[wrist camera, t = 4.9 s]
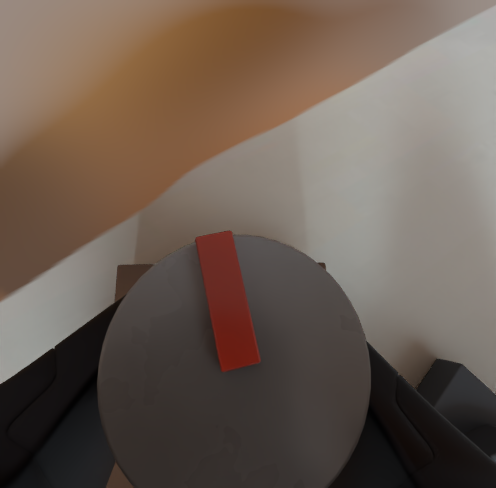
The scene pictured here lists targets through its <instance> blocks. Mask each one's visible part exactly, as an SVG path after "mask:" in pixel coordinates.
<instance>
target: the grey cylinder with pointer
mask: <svg viewBox="0 0 496 488" xmlns="http://www.w3.org/2000/svg"><path fill="white" fill-rule="evenodd" d="M370 390H371V368H370V359H369V351H368V347H367V343H366V338H365V334H364V331H363V329H362V326H361V323H360V320H359V318H358V316H357V314H356V312H355V310H354V308H353V306H352V304H351V302H350V300H349V299H348V297H347V296H346V294H345V293H344V291H343V290H342V288H341V287H340V286H339V284H338V283H337V282H336V281H335V280H334V279H333V277H332V276H331V275H330V274H329V273H328V272H327V271H326V270H325V269H324V268H323V267H321V266H320V265H319V264H318V263H317V262H315V261H314V260H313V259H311V258H310V257H308V256H307V255H306V254H304V253H302V252H300V251H299V250H297V249H295V248H293V247H291V246H289V245H286V244H284V243H281V242H279V241H276V240H272V239H268V238H264V237H259V236H251V235H233V234H232V231H224V232H219V233H214V234H209V235H203V236H198V237H196V238H195V242H194V243H191V244H189V245H186V246H184V247H182V248H180V249H178V250H176V251H174V252H173V253H171V254H169V255H167V256H166V257H164V258H163V259H162V260H160V261H159V262H157V263H156V264H155V265H153V266H152V267H151V268H150V269H149V270H148V271H147V272H146V273H145V274H144V275H143V276H141V277H140V278H139V280H138V281H137V282H136V283H135V284H134V286H133V287H132V288H131V289H130V290H129V292H128V293H127V294H126V296H125V297H124V299H123V301H122V302H121V304H120V305H119V307H118V308H117V310H116V312H115V315H114V317H113V319H112V321H111V323H110V325H109V327H108V330H107V333H106V336H105V339H104V342H103V346H102V350H101V355H100V360H99V366H98V378H97V394H98V408H99V413H100V419H101V425H102V428H103V431H104V434H105V437H106V441H107V444H108V446H109V448H110V450H111V452H112V455H113V457H114V459H115V461H116V463H117V465H118V466H119V468H120V469H121V471H122V472H123V474H124V475H125V477H126V478H127V480H128V481H129V482H130V483H131V484H132V485H133V487H134V488H328V487H329V486H330V485H331V484H332V483H333V482H334V480H335V479H336V478H337V477H338V476H339V474H340V473H341V471H342V470H343V468H344V467H345V465H346V464H347V462H348V461H349V459H350V457H351V455H352V453H353V451H354V449H355V447H356V445H357V443H358V441H359V438H360V435H361V433H362V430H363V427H364V424H365V420H366V415H367V411H368V407H369V399H370Z"/></svg>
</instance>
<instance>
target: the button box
mask: <svg viewBox="0 0 496 488" xmlns="http://www.w3.org/2000/svg"><path fill="white" fill-rule="evenodd" d="M416 391H417V392H418V393H419V394H420V395H421V396H422V397H423V398H424V399H425V400H426V401H427V402H428V403H429V404H430V405H432V406H433V407H434V408H435V409H436V410H437V411H438V412H439V413H440V414H441V415H443V416H444V417H445V418H446V419H447V420H448V421H449V422H450V423H451V424H453V425H454V426H455V427H456V428H457V429H458V430H459V431H460V432H462V433H463V434H464V435H465V436H466V437H467V438H468V439H470V440H471V441H472V442H473V443H474V444H475V445H476V446H478V447H479V448H480V449H481V450H482V451H483V452H484V453H485V454H487V455H488V456H489V457H490V458H491V459H492V460H493V461H495V462H496V395H495V394H494V393H493V392H492V391H491V390H490V389H489V388H487V387H486V386H485V385H484V384H483V383H482V382H481V381H480V380H479V379H478V378H477V377H476V376H474V375H473V374H472V373H471V372H470V371H469V370H468V369H467V368H466V367H465V366H464V365H462V364H460V363H456V362H451V361H447V360H442V359H437V360H436V361H435V363H434V364H433V366H432V367H431V369H430V370H429V372H428V373H427V375H426V376H425V378H424V379H423V381H422V382H421V384H420V385H419V387H418V388H417V390H416Z"/></svg>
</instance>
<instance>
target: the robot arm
mask: <svg viewBox="0 0 496 488" xmlns="http://www.w3.org/2000/svg"><path fill="white" fill-rule="evenodd" d="M125 296H126V295H124V296H123V297H122V298H120V299H119V300H117V301H116V302H115V303H113V304H112V305H111V306H109V307H108V308H107V309H105V310H104V311H102V312H101V313H100V314H98V315H97V316H96V317H94V318H93V319H91V320H90V321H89V322H87V323H86V324H85V325H83V326H82V327H81V328H79V329H78V330H76V331H75V332H74V333H72V334H71V335H70V336H68V337H67V338H66V339H64V340H63V341H61V342H60V343H59V344H57V345H56V346H55V349H53V348H52V349H50V350H49V351H48V352H46V353H45V354H44V355H42V356H41V357H39V358H38V359H37V360H35V361H34V362H32V363H31V364H30V365H28V366H27V367H25V368H24V369H22V370H21V371H20V372H18V373H17V374H15V375H14V376H12V377H11V378H9V379H8V380H6V381H5V382H3V383H2V384H0V488H106V486H107V483H108V481H109V478H110V475H111V472H112V470H113V467H114V464H115V462H116V461H115V459H114V457H113V455H112V452H111V450H110V448H109V446H108V444H107V441H106V437H105V434H104V431H103V428H102V425H101V419H100V413H99V408H98V394H97V378H98V366H99V360H100V355H101V350H102V346H103V342H104V339H105V336H106V333H107V330H108V327H109V325H110V323H111V321H112V319H113V317H114V315H115V312H116V310H117V308H118V307H119V305H120V304H121V302H122V301H123V299H124V297H125ZM366 343H367V347H368V351H369V359H370V368H371V390H370V399H369V407H368V411H367V415H366V420H365V424H364V427H363V430H362V433H361V435H360V438H359V441H358V443H357V445H356V447H355V449H354V451H353V453H352V455H351V457H350V459H349V461H348V462H347V464H346V465H345V467H344V468H343V470H342V471H341V473H340V474H339V476H338V477H337V478H336V479H335V480H334V482H333V483H332V484H331V485H330V486H329V487H328V488H496V462H495V461H493V460H492V459H491V458H490V457H489V456H488V455H487V454H485V453H484V452H483V451H482V450H481V449H480V448H479V447H478V446H476V445H475V444H474V443H473V442H472V441H471V440H470V439H468V438H467V437H466V436H465V435H464V434H463V433H462V432H460V431H459V430H458V429H457V428H456V427H455V426H454V425H453V424H451V423H450V422H449V421H448V420H447V419H446V418H445V417H444V416H443V415H441V414H440V413H439V412H438V411H437V410H436V409H435V408H434V407H433V406H432V405H430V404H429V403H428V402H427V401H426V400H425V399H424V398H423V397H422V396H421V395H420V394H419V393H418V392H417V391H416V390H415V389H414V388H413V387H412V386H411V385H410V384H409V383H408V382H407V381H406V380H405V379H404V378H403V377H402V376H401V375H398V372H397V371H396V370H395V369H394V368H393V367H392V366H391V365H390V364H389V363H388V362H387V361H386V360H385V359H384V358H383V357H382V356H381V355H380V354H379V353H378V352H377V351H376V350H375V349H374V348H373V347H372V346H371V345H370V344H369V343H368V342H367V341H366Z"/></svg>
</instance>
